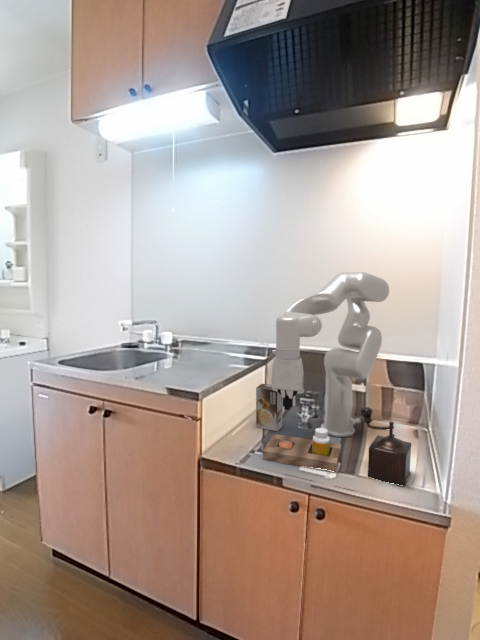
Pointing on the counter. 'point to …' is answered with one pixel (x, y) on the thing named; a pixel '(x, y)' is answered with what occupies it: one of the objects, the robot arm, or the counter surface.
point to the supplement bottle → (321, 442)
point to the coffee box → (268, 408)
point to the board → (301, 453)
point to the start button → (285, 444)
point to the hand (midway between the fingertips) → (287, 408)
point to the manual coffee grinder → (387, 454)
